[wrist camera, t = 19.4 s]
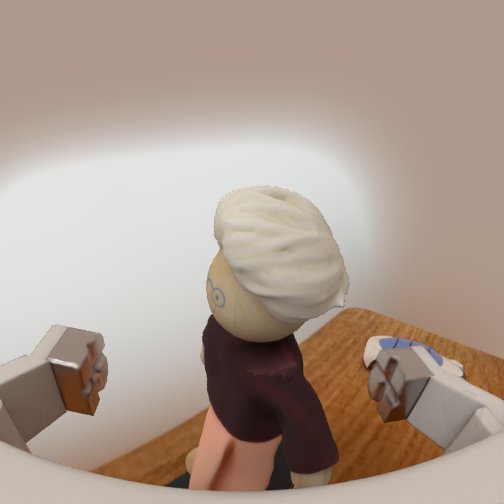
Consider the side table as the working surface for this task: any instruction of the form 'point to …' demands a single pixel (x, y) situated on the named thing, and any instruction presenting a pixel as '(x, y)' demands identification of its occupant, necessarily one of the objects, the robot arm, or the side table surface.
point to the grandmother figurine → (265, 342)
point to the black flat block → (277, 480)
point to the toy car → (389, 342)
